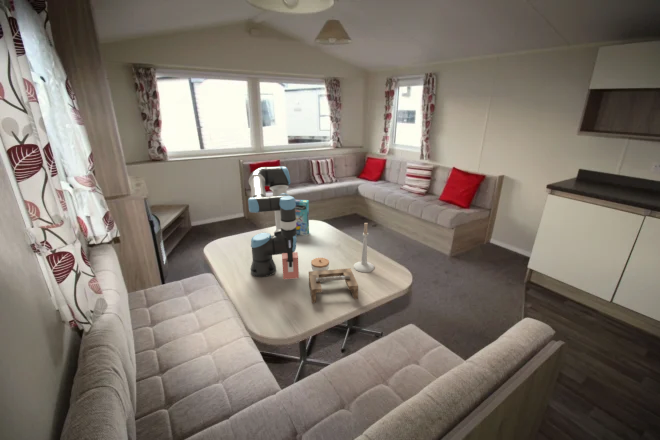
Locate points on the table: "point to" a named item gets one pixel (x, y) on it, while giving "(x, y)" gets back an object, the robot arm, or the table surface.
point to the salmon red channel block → (285, 266)
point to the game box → (302, 217)
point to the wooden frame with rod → (329, 275)
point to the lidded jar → (320, 264)
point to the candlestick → (364, 255)
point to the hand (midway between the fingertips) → (290, 268)
